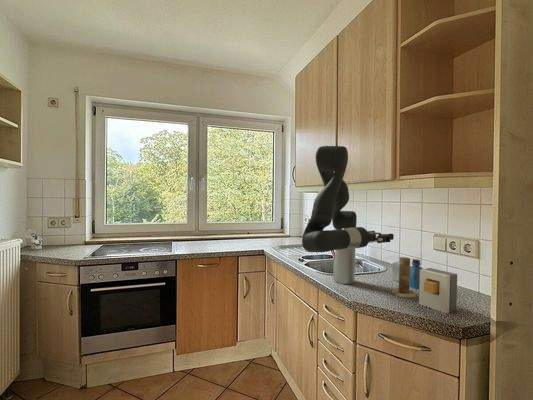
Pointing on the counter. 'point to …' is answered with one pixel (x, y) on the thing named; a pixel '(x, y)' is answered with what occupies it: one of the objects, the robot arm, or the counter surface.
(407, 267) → the brown wooden cylinder
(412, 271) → the perfume bottle
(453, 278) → the box
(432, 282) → the button
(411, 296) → the stand
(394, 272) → the medicine box
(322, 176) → the robot arm
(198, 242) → the counter surface
